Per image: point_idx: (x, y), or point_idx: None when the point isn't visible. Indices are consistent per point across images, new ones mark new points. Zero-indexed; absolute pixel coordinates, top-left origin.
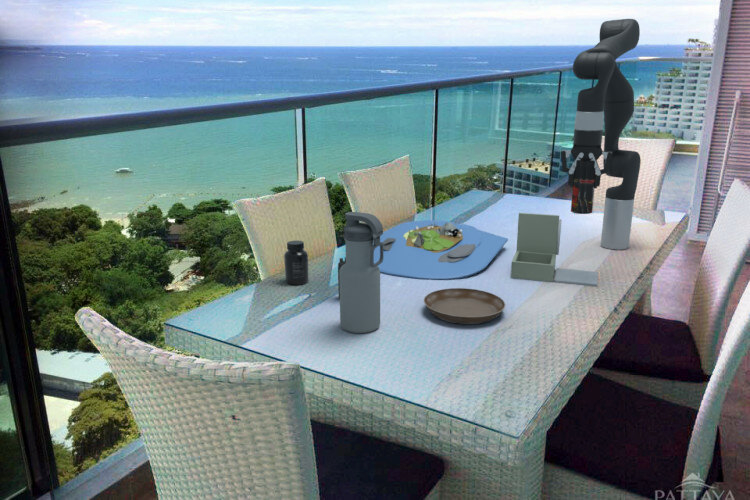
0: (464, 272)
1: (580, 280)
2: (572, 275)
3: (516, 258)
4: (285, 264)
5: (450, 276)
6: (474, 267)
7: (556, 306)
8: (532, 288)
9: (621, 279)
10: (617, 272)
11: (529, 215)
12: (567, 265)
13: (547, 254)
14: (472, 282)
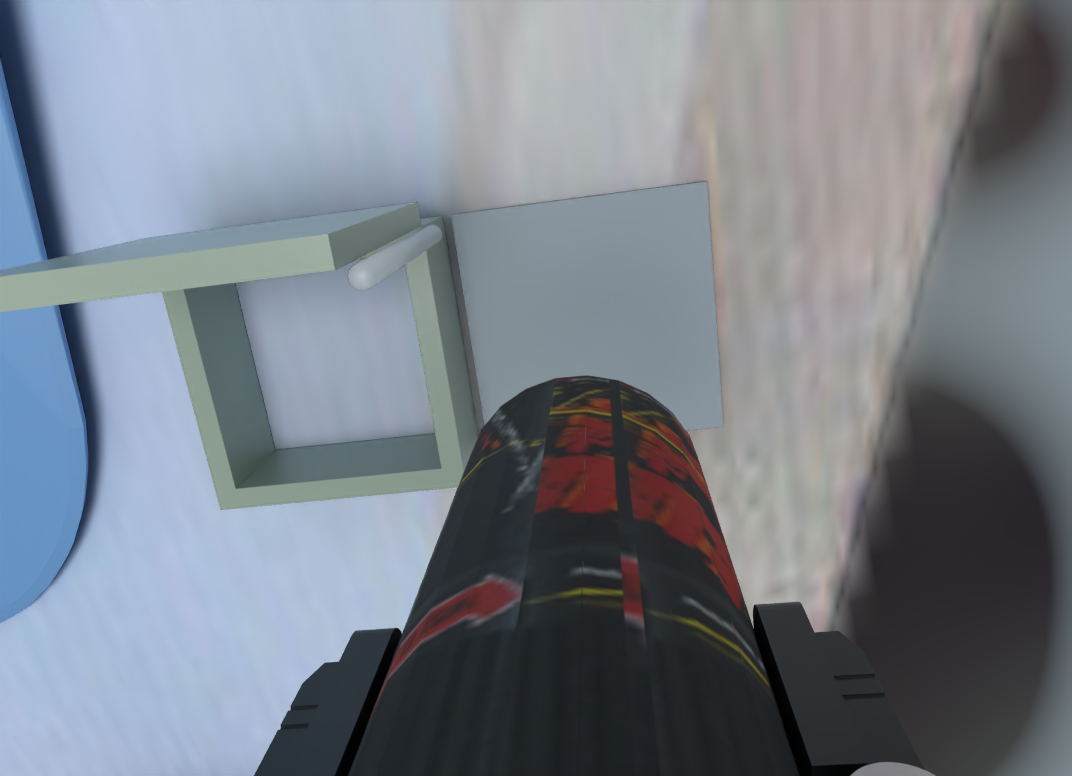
0: (35, 555)
1: None
2: (568, 327)
3: (220, 434)
4: None
5: (3, 609)
6: (44, 487)
7: None
8: (412, 578)
9: (853, 234)
10: (829, 90)
11: (52, 303)
12: (496, 78)
13: (368, 255)
14: (126, 605)
